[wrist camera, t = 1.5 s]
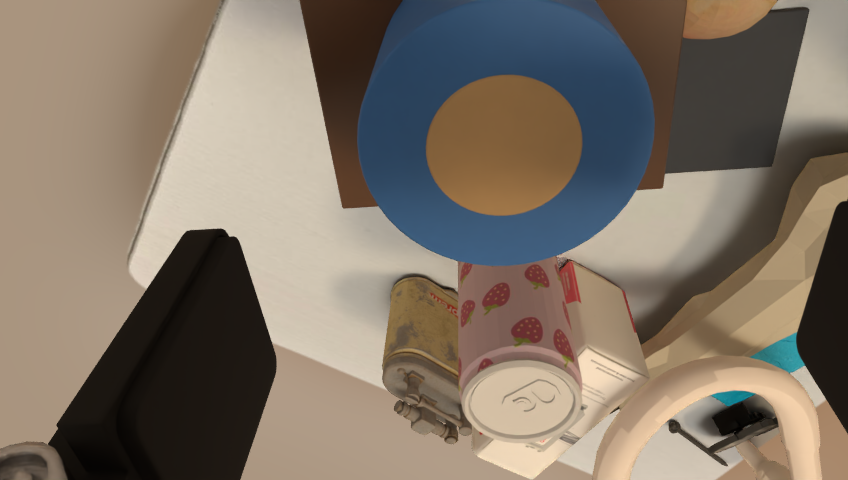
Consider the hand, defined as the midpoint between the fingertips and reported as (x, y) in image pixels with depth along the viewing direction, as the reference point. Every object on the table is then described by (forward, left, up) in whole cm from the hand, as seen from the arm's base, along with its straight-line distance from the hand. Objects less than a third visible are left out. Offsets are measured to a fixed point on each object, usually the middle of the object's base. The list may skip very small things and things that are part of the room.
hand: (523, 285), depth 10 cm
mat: (+8, +12, -26) cm, 30 cm away
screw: (+39, +16, -25) cm, 49 cm away
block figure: (+37, +16, -25) cm, 47 cm away
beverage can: (+16, +1, -26) cm, 30 cm away
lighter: (+22, -4, -26) cm, 34 cm away
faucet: (+43, +16, -20) cm, 50 cm away
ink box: (+20, +7, -22) cm, 30 cm away
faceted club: (+21, +15, -26) cm, 36 cm away
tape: (0, 0, -9) cm, 9 cm away
